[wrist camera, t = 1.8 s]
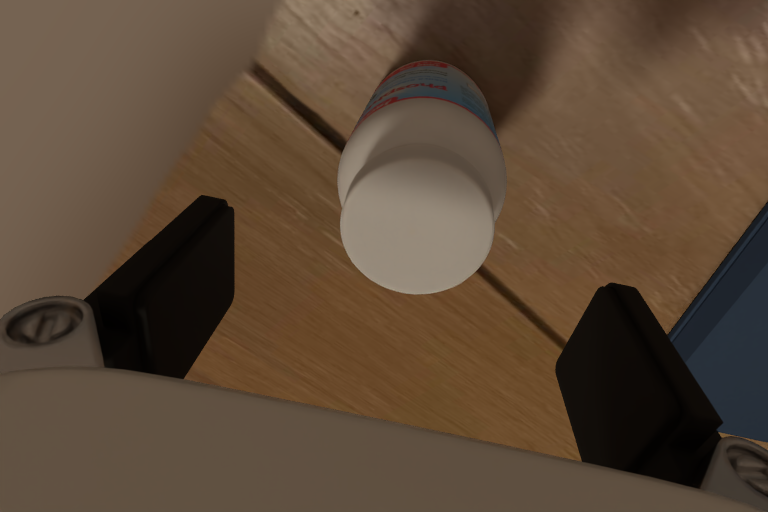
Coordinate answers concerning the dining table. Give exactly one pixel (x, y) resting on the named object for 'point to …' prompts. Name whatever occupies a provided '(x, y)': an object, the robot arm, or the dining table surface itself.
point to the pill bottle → (422, 180)
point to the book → (733, 336)
